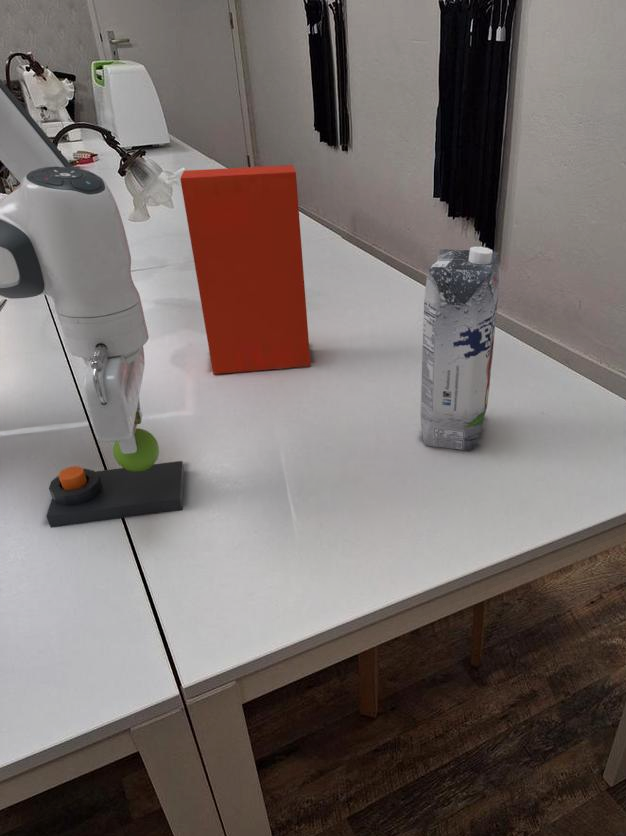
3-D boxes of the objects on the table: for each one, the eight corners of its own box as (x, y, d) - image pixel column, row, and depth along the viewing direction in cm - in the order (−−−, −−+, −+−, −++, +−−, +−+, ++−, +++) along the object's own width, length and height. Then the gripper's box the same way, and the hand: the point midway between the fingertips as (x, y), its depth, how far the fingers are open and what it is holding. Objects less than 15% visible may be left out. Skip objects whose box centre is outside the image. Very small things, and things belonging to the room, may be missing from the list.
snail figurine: (164, 450, 86) (145, 367, 79) (161, 477, 81) (140, 390, 74) (122, 455, 86) (99, 371, 79) (116, 482, 80) (90, 395, 73)
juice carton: (416, 449, 93) (421, 258, 78) (430, 414, 102) (437, 235, 86) (478, 457, 91) (496, 262, 76) (487, 420, 100) (505, 238, 84)
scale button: (60, 492, 81) (56, 480, 80) (64, 479, 84) (60, 467, 83) (85, 489, 82) (81, 477, 81) (88, 476, 84) (85, 464, 83)
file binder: (214, 357, 122) (183, 169, 103) (307, 349, 124) (292, 164, 105) (213, 375, 115) (180, 178, 97) (310, 367, 117) (295, 172, 99)
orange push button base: (50, 528, 81) (42, 505, 78) (63, 487, 88) (55, 465, 86) (182, 510, 83) (177, 488, 81) (184, 472, 90) (179, 450, 88)
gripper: (125, 364, 65) (153, 478, 73) (141, 296, 81) (163, 396, 89) (58, 370, 64) (95, 485, 72) (88, 301, 80) (115, 401, 88)
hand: (133, 435), depth 81 cm, fingers closed on snail figurine, 5 cm apart
